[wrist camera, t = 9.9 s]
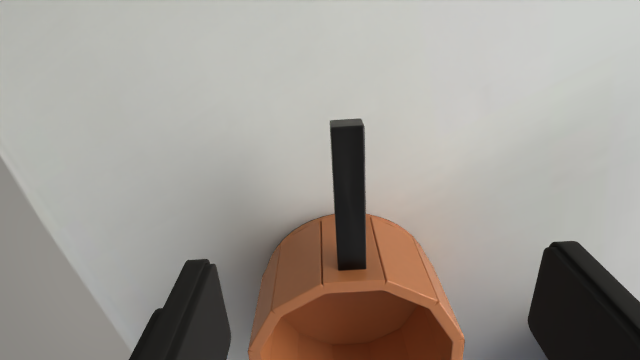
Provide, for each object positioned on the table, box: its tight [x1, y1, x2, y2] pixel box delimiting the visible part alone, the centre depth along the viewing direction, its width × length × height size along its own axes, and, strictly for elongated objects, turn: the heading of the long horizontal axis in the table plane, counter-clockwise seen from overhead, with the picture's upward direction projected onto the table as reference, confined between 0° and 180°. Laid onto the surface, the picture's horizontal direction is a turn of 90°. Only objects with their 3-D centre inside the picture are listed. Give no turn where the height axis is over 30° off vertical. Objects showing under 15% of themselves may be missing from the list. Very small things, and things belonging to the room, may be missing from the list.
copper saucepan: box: [248, 119, 465, 360], centre depth 24 cm, size 20×12×7 cm, turn 4°
